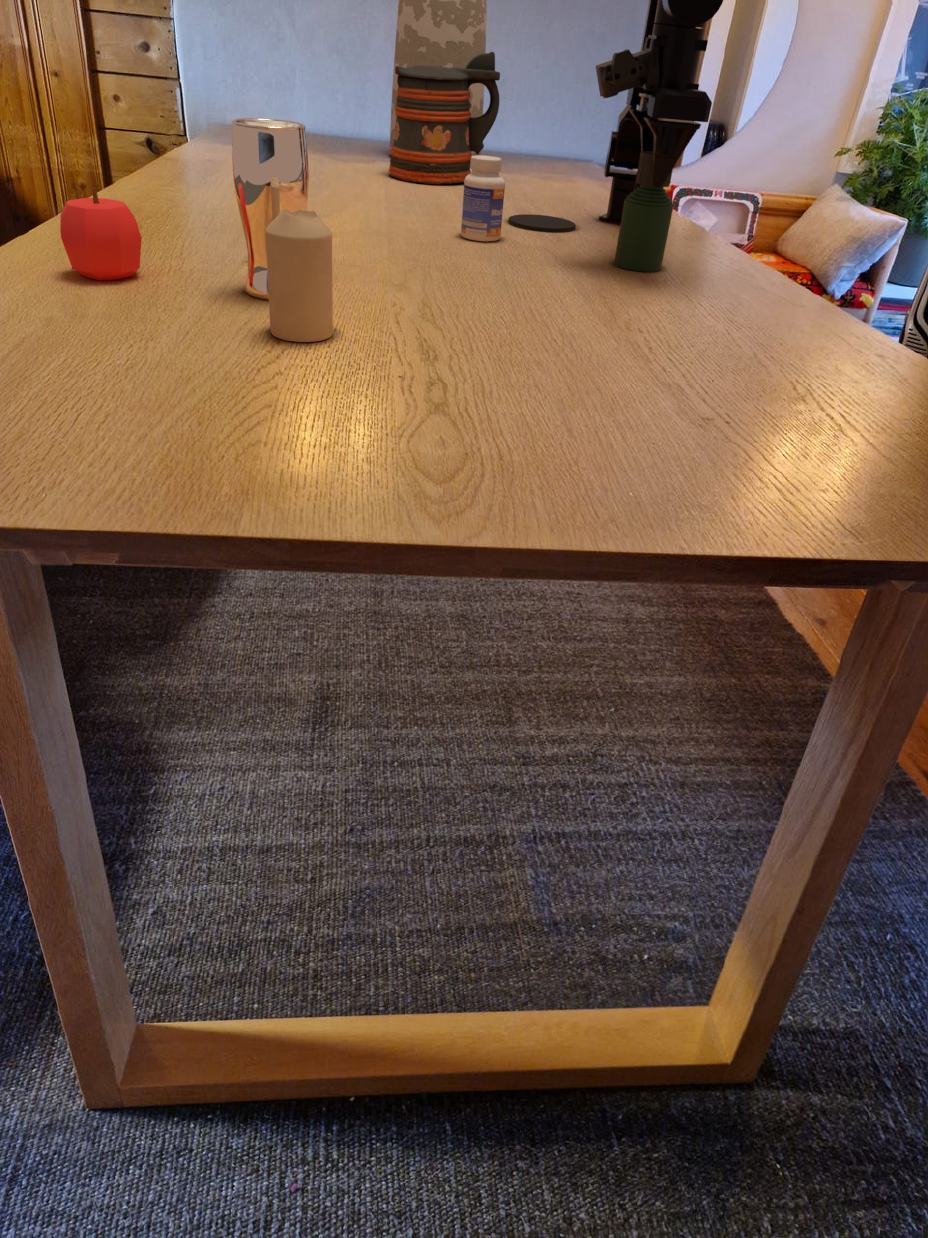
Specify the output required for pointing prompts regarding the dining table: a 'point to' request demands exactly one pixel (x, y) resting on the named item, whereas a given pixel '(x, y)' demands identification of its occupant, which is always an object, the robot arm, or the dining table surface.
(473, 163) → the pill bottle
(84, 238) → the apple
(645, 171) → the cap
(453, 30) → the vase
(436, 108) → the beer stein
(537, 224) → the coaster
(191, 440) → the dining table surface
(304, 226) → the candle
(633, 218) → the bottle
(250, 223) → the beer glass
